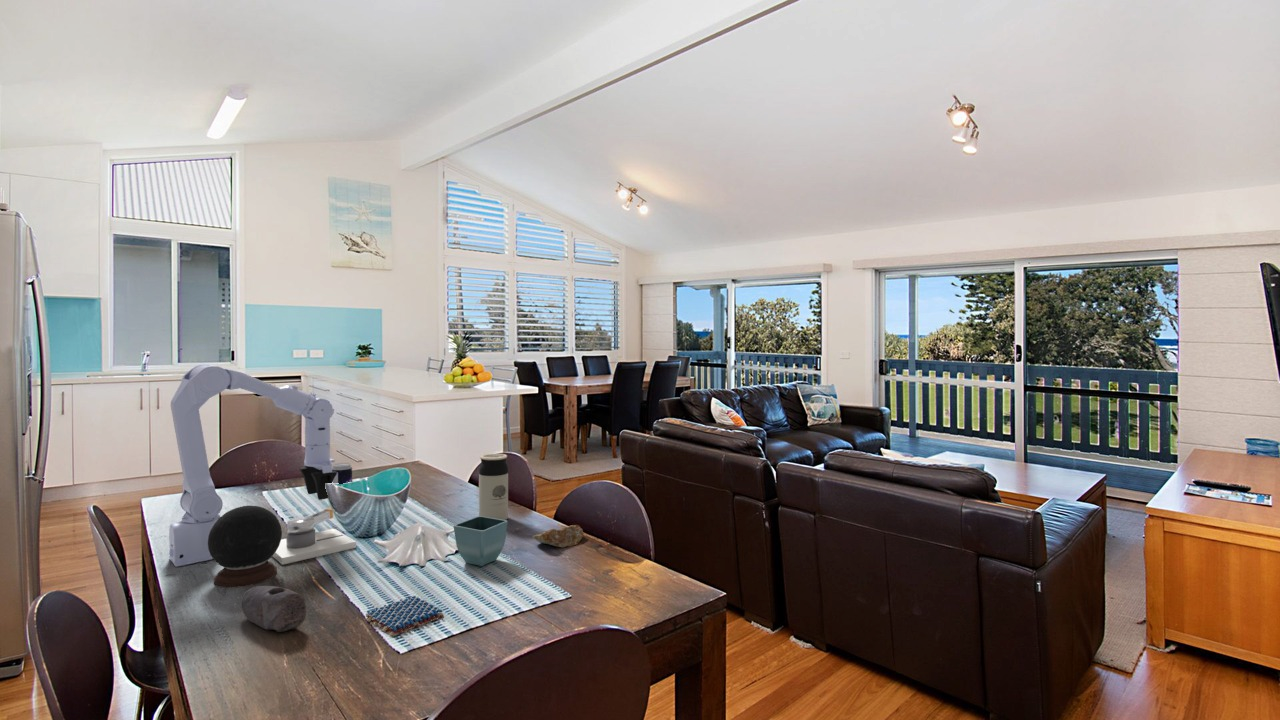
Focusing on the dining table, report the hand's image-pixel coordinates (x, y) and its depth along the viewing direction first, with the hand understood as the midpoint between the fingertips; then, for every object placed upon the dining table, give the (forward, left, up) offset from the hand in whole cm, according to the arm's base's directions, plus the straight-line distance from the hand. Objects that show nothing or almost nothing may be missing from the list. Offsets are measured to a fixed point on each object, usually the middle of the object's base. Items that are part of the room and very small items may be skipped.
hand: (317, 496), depth 159 cm
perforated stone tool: (-24, -49, -10) cm, 55 cm away
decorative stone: (+40, -50, -10) cm, 64 cm away
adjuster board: (-6, -12, -9) cm, 16 cm away
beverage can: (+15, +24, -10) cm, 30 cm away
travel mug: (+39, -22, -10) cm, 46 cm away
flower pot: (+19, -48, -10) cm, 52 cm away
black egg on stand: (-21, -21, -10) cm, 31 cm away
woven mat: (-6, -63, -10) cm, 64 cm away
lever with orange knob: (-4, -9, -5) cm, 11 cm away
